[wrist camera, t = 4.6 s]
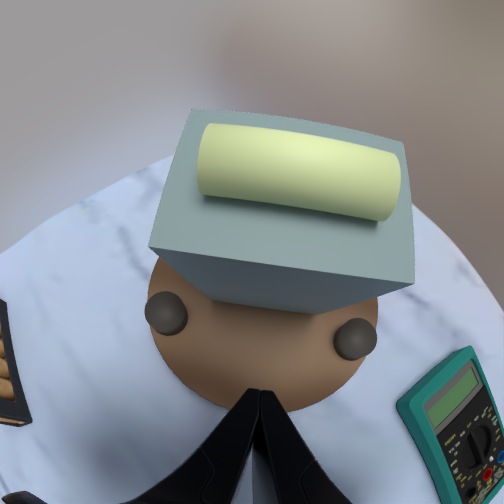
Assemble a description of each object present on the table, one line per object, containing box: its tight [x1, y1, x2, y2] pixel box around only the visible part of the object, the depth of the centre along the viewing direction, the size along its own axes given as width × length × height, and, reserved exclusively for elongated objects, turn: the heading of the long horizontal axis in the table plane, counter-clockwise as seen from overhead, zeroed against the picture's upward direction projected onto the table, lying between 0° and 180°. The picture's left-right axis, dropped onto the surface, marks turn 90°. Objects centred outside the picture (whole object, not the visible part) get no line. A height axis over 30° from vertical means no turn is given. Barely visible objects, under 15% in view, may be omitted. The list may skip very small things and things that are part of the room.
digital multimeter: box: [397, 345, 504, 504], centre depth 12 cm, size 7×15×3 cm, turn 24°
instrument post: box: [148, 109, 415, 315], centre depth 10 cm, size 4×6×11 cm, turn 82°
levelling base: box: [145, 257, 378, 413], centre depth 16 cm, size 14×14×6 cm
